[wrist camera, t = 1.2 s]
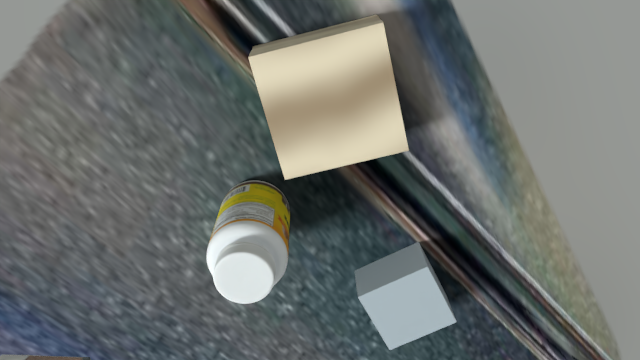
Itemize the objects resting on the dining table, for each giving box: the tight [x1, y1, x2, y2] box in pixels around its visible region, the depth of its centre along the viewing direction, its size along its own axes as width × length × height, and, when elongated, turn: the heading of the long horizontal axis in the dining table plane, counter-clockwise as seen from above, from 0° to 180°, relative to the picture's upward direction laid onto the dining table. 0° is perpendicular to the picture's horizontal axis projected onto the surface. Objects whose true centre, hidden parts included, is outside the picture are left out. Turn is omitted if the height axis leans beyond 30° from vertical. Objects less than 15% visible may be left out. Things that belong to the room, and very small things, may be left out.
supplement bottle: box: [207, 180, 290, 304], centre depth 41 cm, size 6×6×10 cm
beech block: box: [248, 15, 409, 180], centre depth 40 cm, size 9×9×4 cm
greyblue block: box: [355, 242, 456, 350], centre depth 47 cm, size 6×6×4 cm
